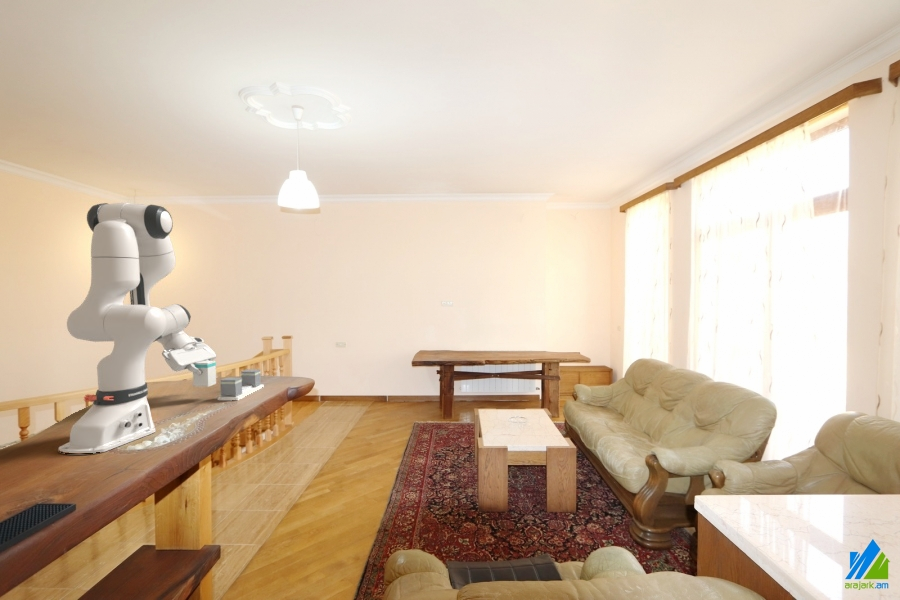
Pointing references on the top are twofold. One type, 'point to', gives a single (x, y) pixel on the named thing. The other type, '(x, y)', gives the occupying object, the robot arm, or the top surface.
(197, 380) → the block
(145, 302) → the robot arm
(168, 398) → the top surface
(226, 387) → the rail mount
